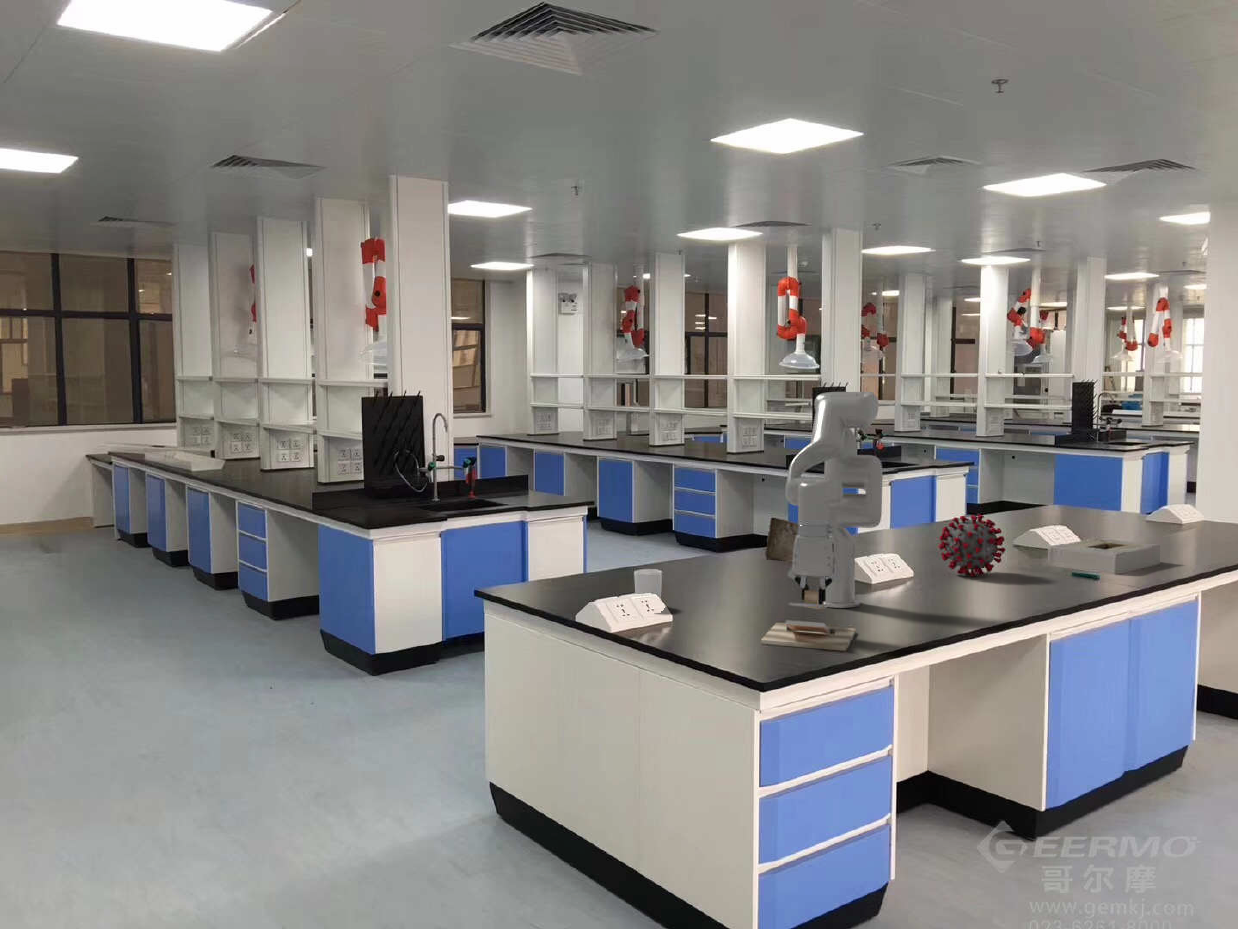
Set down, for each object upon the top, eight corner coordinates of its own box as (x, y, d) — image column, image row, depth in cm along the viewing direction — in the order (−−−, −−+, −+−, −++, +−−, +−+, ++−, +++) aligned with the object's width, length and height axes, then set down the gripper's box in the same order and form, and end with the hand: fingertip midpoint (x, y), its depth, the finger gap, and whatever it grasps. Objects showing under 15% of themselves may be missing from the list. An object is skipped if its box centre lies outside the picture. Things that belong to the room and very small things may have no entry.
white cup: (661, 603, 277) (660, 568, 276) (663, 609, 269) (663, 574, 268) (633, 603, 276) (633, 569, 276) (635, 609, 269) (634, 574, 268)
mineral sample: (764, 559, 348) (765, 517, 347) (772, 558, 350) (772, 516, 349) (802, 565, 335) (802, 522, 334) (809, 563, 338) (809, 520, 337)
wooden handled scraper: (802, 607, 249) (802, 592, 249) (833, 609, 246) (834, 594, 246) (788, 604, 231) (789, 587, 232) (822, 606, 228) (822, 590, 229)
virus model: (1014, 581, 303) (1016, 518, 301) (949, 581, 303) (950, 519, 302) (991, 569, 323) (992, 510, 322) (930, 570, 324) (931, 511, 322)
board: (776, 626, 248) (776, 618, 247) (855, 632, 241) (855, 624, 240) (760, 643, 231) (760, 634, 231) (845, 651, 224) (845, 641, 224)
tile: (786, 620, 231) (785, 625, 231) (823, 623, 228) (823, 628, 228) (792, 625, 239) (792, 630, 239) (829, 628, 236) (828, 633, 236)
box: (1092, 556, 349) (1046, 566, 330) (1093, 535, 349) (1047, 544, 329) (1160, 566, 331) (1115, 577, 312) (1161, 544, 330) (1117, 553, 311)
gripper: (849, 529, 240) (848, 602, 242) (783, 527, 246) (784, 597, 247) (845, 535, 233) (844, 609, 235) (777, 532, 239) (778, 604, 240)
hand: (813, 602), depth 241 cm, fingers closed on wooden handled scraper, 3 cm apart
